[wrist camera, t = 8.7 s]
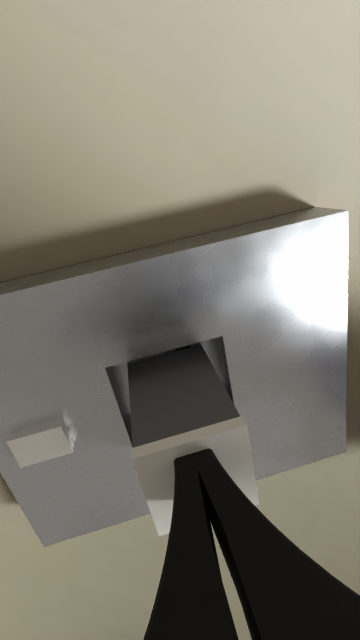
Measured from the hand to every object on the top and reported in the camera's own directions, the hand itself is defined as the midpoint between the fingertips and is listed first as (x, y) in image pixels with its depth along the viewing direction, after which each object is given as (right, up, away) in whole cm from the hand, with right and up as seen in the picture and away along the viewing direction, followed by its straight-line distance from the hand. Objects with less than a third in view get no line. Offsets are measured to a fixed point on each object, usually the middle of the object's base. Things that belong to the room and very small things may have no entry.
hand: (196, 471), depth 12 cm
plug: (-1, +2, +6) cm, 6 cm away
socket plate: (-1, +3, +6) cm, 7 cm away
